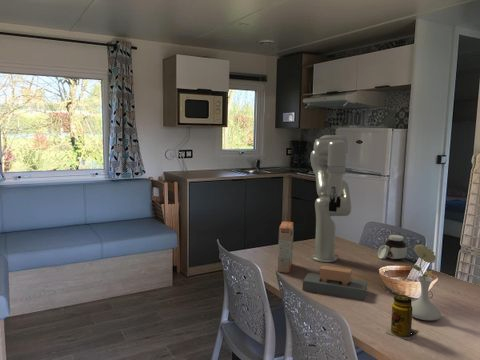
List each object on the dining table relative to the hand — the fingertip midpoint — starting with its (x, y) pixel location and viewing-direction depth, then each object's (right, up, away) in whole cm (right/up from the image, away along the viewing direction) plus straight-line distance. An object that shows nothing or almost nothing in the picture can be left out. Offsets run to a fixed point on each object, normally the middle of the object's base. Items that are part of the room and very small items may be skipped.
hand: (334, 209), depth 179 cm
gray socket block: (-3, -32, -13) cm, 34 cm away
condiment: (+11, -37, -46) cm, 60 cm away
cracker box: (-20, -29, +14) cm, 38 cm away
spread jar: (+36, -28, +30) cm, 54 cm away
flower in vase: (+23, -35, -34) cm, 54 cm away
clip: (-3, -32, -12) cm, 34 cm away
